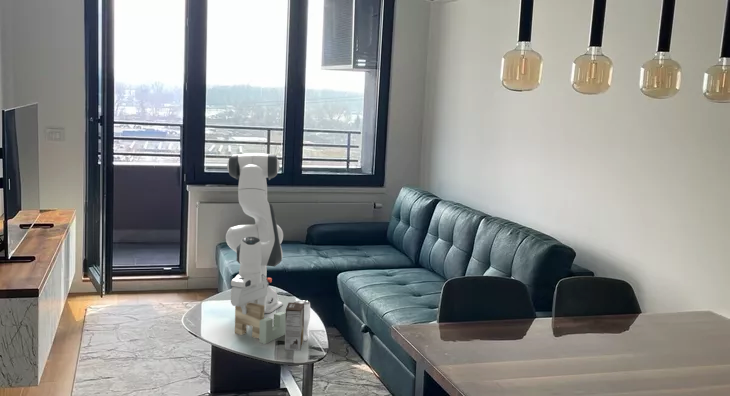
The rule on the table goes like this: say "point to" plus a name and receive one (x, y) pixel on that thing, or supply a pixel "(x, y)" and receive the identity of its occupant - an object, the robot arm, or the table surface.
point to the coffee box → (294, 326)
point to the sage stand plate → (272, 328)
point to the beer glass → (305, 318)
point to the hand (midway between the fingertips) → (249, 311)
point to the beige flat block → (249, 319)
